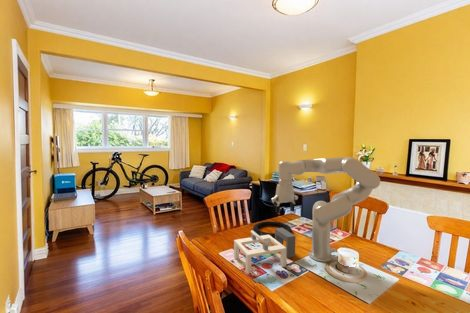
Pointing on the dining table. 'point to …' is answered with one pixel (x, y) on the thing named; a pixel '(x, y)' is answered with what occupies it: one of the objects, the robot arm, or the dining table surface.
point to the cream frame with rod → (260, 251)
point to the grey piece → (290, 241)
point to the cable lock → (268, 223)
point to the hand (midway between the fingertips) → (284, 211)
